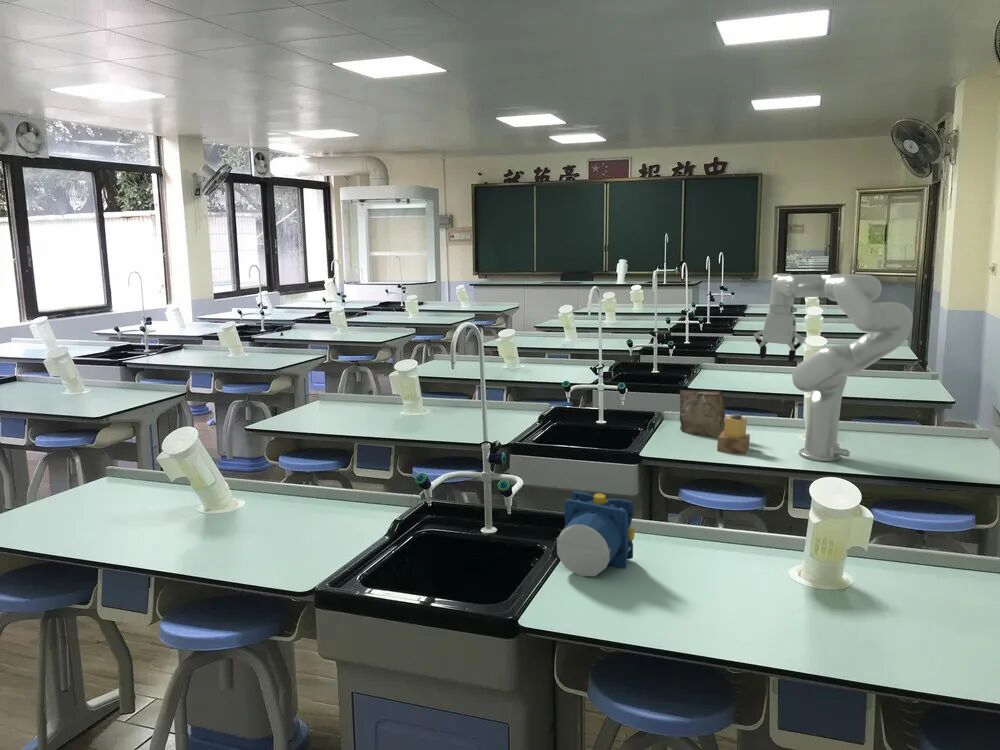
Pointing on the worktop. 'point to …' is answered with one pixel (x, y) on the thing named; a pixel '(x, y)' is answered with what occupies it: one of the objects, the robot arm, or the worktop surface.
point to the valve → (595, 533)
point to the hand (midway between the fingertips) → (776, 359)
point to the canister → (735, 426)
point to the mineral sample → (702, 412)
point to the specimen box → (733, 444)
